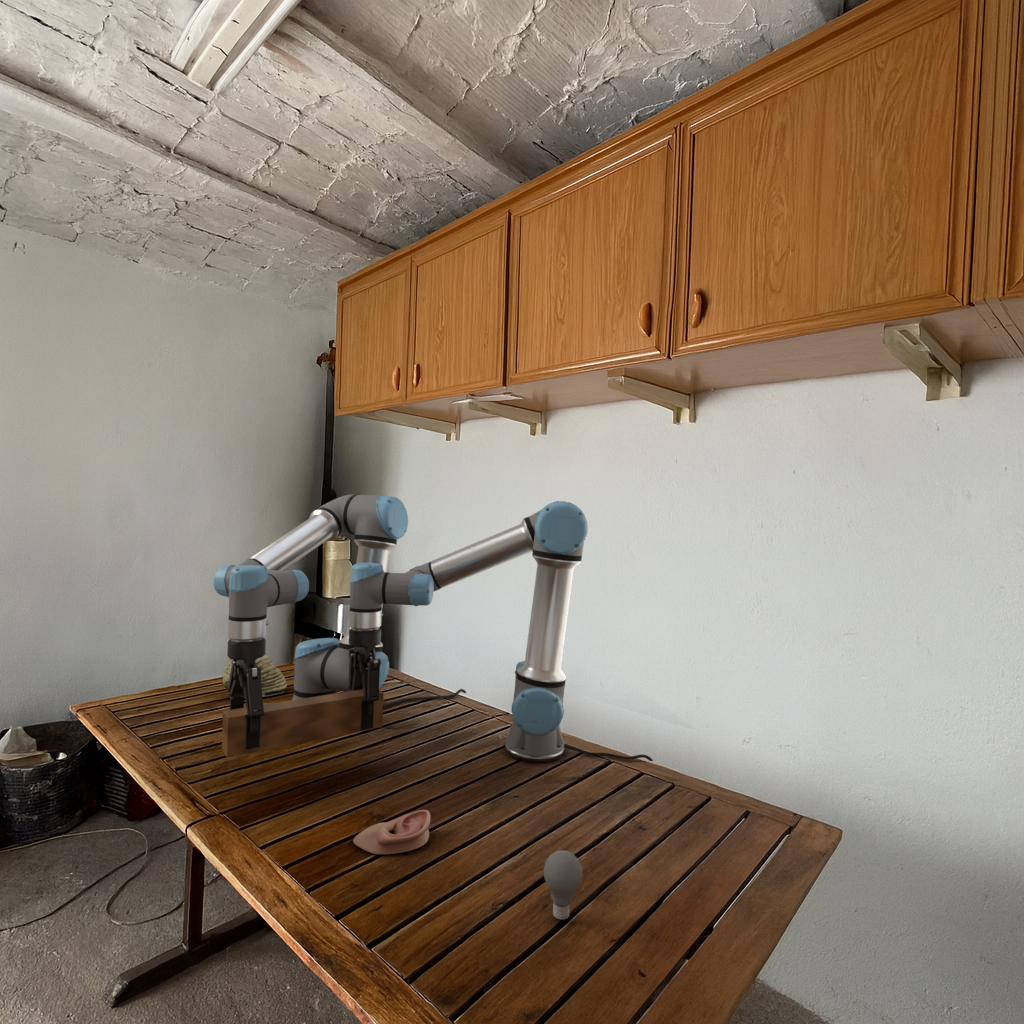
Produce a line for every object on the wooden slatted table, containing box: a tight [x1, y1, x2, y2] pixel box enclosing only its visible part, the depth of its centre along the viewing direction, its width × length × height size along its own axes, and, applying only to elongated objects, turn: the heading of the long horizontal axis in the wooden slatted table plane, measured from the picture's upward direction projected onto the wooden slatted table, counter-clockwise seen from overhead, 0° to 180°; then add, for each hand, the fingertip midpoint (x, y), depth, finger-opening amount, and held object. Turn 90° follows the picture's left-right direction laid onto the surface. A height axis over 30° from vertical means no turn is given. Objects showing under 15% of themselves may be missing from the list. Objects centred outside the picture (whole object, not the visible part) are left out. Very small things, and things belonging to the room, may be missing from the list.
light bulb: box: [543, 849, 583, 920], centre depth 98 cm, size 6×6×10 cm
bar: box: [221, 689, 385, 759], centre depth 144 cm, size 35×5×8 cm, turn 126°
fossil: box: [222, 652, 288, 699], centre depth 198 cm, size 9×18×15 cm, turn 132°
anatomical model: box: [352, 809, 431, 856], centre depth 118 cm, size 13×4×12 cm
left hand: (243, 736), depth 136 cm, fingers open, 13 cm apart
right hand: (362, 724), depth 151 cm, fingers closed on bar, 5 cm apart
